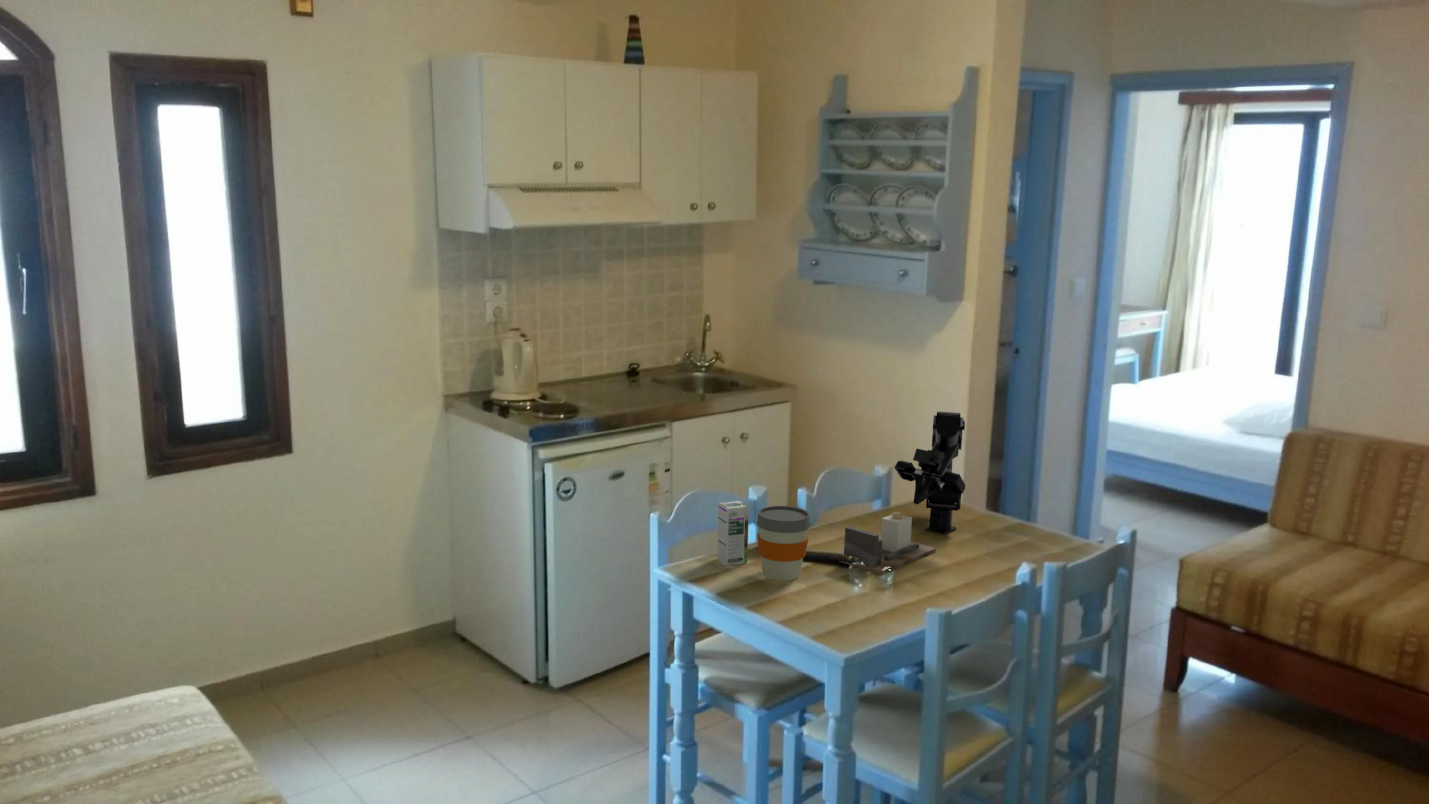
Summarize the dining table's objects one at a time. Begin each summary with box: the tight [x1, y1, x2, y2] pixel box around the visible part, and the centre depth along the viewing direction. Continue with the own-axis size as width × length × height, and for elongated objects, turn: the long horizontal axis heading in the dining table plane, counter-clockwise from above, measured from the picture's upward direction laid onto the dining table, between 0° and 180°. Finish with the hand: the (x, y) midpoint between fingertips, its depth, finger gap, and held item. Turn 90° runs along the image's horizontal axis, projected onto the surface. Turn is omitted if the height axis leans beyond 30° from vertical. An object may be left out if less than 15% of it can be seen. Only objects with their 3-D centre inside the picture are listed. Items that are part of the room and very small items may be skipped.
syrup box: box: [716, 500, 749, 567], centre depth 264 cm, size 6×6×14 cm
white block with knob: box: [880, 511, 913, 552], centre depth 274 cm, size 6×5×9 cm
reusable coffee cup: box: [756, 505, 811, 582], centre depth 257 cm, size 13×13×15 cm
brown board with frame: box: [834, 526, 937, 576], centre depth 272 cm, size 24×14×9 cm, turn 137°
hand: (915, 503), depth 279 cm, fingers closed
